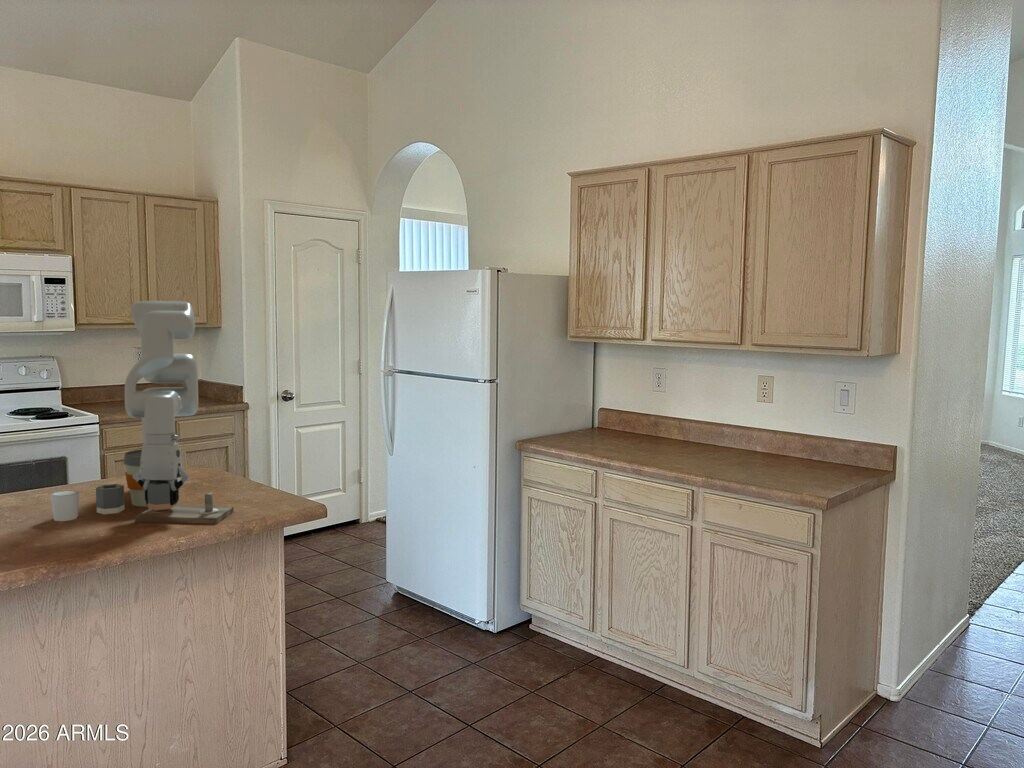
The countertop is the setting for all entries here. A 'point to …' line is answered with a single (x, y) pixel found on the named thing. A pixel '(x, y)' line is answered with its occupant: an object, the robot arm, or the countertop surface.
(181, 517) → the pin board
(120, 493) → the cream-banded sleeve
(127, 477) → the reusable coffee cup
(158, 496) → the terracotta-banded sleeve
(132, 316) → the robot arm
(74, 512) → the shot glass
